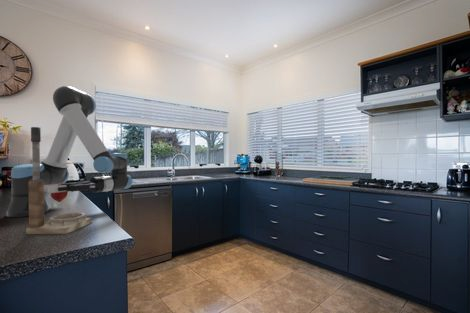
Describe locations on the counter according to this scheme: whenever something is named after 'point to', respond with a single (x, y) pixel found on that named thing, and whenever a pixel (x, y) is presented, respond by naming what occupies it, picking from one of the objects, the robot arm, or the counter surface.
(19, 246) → the counter surface
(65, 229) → the press
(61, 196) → the onion
